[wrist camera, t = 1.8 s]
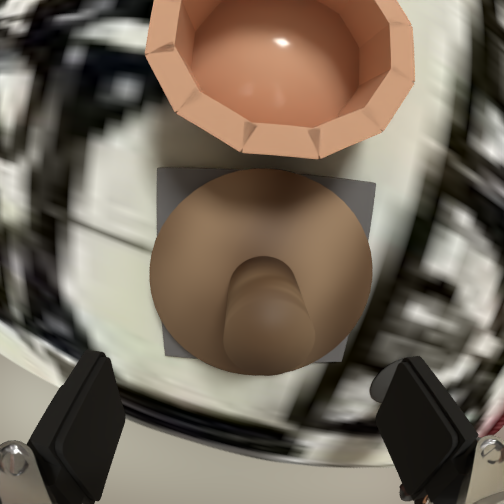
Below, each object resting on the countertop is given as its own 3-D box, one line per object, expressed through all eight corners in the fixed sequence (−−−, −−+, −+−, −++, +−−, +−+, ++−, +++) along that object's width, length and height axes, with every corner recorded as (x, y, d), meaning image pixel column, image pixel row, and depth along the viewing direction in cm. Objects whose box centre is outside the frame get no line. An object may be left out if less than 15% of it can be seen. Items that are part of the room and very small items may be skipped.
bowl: (370, 0, 13) (403, -35, 8) (367, 166, 16) (410, 173, 11) (186, -19, 12) (170, -63, 7) (167, 151, 16) (136, 151, 11)
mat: (371, 182, 16) (376, 183, 16) (339, 356, 20) (341, 361, 20) (160, 167, 16) (157, 168, 15) (167, 350, 20) (165, 355, 19)
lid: (379, 180, 16) (442, 198, 10) (343, 363, 20) (369, 428, 14) (153, 164, 15) (103, 173, 9) (162, 357, 19) (139, 424, 13)
